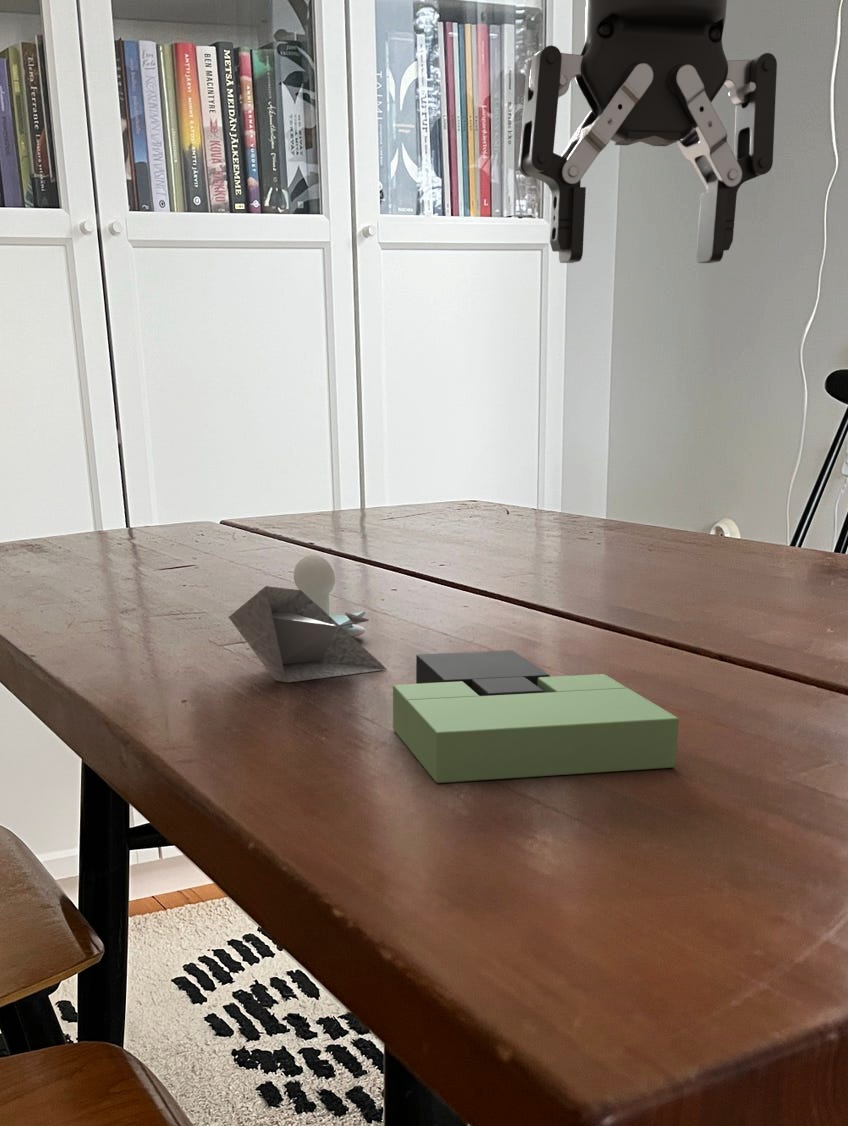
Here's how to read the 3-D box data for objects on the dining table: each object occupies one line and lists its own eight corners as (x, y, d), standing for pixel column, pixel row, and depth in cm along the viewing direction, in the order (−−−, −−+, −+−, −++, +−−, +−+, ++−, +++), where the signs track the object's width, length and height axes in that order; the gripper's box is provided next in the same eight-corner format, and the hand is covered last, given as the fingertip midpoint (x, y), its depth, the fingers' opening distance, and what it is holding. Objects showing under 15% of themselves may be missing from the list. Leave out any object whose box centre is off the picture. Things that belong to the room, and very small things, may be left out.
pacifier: (285, 631, 96) (259, 644, 91) (283, 547, 94) (256, 555, 89) (378, 635, 94) (357, 648, 89) (378, 549, 92) (356, 557, 87)
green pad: (602, 717, 71) (604, 673, 70) (675, 768, 61) (679, 718, 61) (392, 729, 69) (392, 684, 68) (436, 783, 59) (436, 732, 59)
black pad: (511, 690, 77) (513, 649, 76) (569, 735, 67) (571, 689, 66) (415, 695, 76) (416, 654, 75) (460, 741, 66) (461, 695, 65)
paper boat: (322, 636, 87) (430, 612, 82) (309, 722, 86) (419, 704, 80) (199, 558, 78) (311, 525, 73) (183, 653, 77) (296, 627, 71)
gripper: (751, -44, 72) (725, 268, 78) (511, -56, 70) (503, 267, 75) (819, -89, 65) (785, 257, 71) (555, -104, 63) (542, 255, 68)
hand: (639, 262), depth 73 cm, fingers open, 8 cm apart
